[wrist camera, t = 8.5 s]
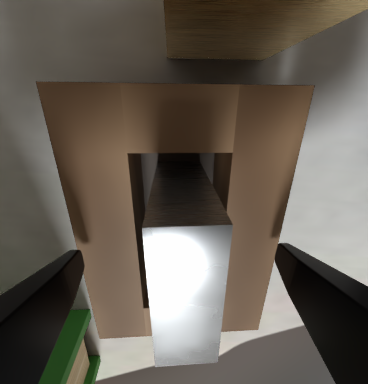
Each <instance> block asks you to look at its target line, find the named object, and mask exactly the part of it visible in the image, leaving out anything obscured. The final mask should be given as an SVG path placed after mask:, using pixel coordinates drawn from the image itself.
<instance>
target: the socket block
mask: <svg viewBox="0 0 368 384" xmlns="http://www.w3.org/2000/svg"><path fill="white" fill-rule="evenodd" d="M36 84H37V88H38V92H39V96H40V100H41V104H42V108H43V112H44V116H45V120H46V125H47V129H48V133H49V137H50V141H51V145H52V149H53V153H54V157H55V161H56V165H57V169H58V173H59V177H60V181H61V185H62V189H63V193H64V197H65V201H66V205H67V209H68V213H69V217H70V221H71V225H72V229H73V233H74V237H75V241H76V245H77V249H78V250H81V252H82V255H83V259H84V264H85V268H84V272H83V274H84V278H85V282H86V286H87V290H88V294H89V298H90V302H91V306H92V310H93V314H94V318H95V322H96V326H97V330H98V334H99V338H100V339H106V338H123V337H140V336H152V328H151V317H150V307H149V296H148V286H147V276H146V265H145V255H144V245H143V234H142V225H143V221H144V217H145V212H146V208H147V204H148V200H149V195H150V191H151V187H152V183H153V178H154V174H155V170H156V166H157V161H200V162H201V164H202V166H203V168H204V170H205V172H206V174H207V176H208V178H209V179H210V181H211V183H212V185H213V187H214V189H215V191H216V193H217V195H218V197H219V199H220V201H221V203H222V204H223V206H224V208H225V210H226V212H227V214H228V216H229V218H230V220H231V222H232V224H233V230H232V239H231V248H230V257H229V266H228V275H227V283H226V292H225V301H224V310H223V319H222V328H221V332H227V331H244V330H258V328H259V323H260V319H261V315H262V310H263V306H264V302H265V297H266V293H267V289H268V285H269V280H270V276H271V272H272V267H273V263H274V259H275V253H276V249H277V245H278V242H279V237H280V233H281V229H282V224H283V220H284V216H285V211H286V207H287V203H288V199H289V194H290V190H291V186H292V181H293V177H294V173H295V168H296V164H297V160H298V156H299V151H300V147H301V143H302V138H303V134H304V130H305V125H306V121H307V117H308V113H309V108H310V104H311V100H312V95H313V91H314V87H315V85H246V84H174V83H102V82H36Z"/></svg>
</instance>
